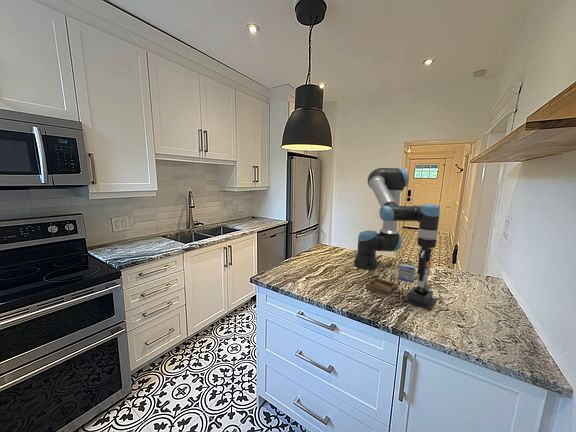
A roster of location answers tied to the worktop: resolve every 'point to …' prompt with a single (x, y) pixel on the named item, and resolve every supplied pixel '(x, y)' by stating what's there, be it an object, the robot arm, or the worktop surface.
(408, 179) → the robot arm
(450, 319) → the worktop surface
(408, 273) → the medicine box
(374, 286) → the tray
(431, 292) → the block
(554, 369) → the worktop surface
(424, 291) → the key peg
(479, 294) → the worktop surface
